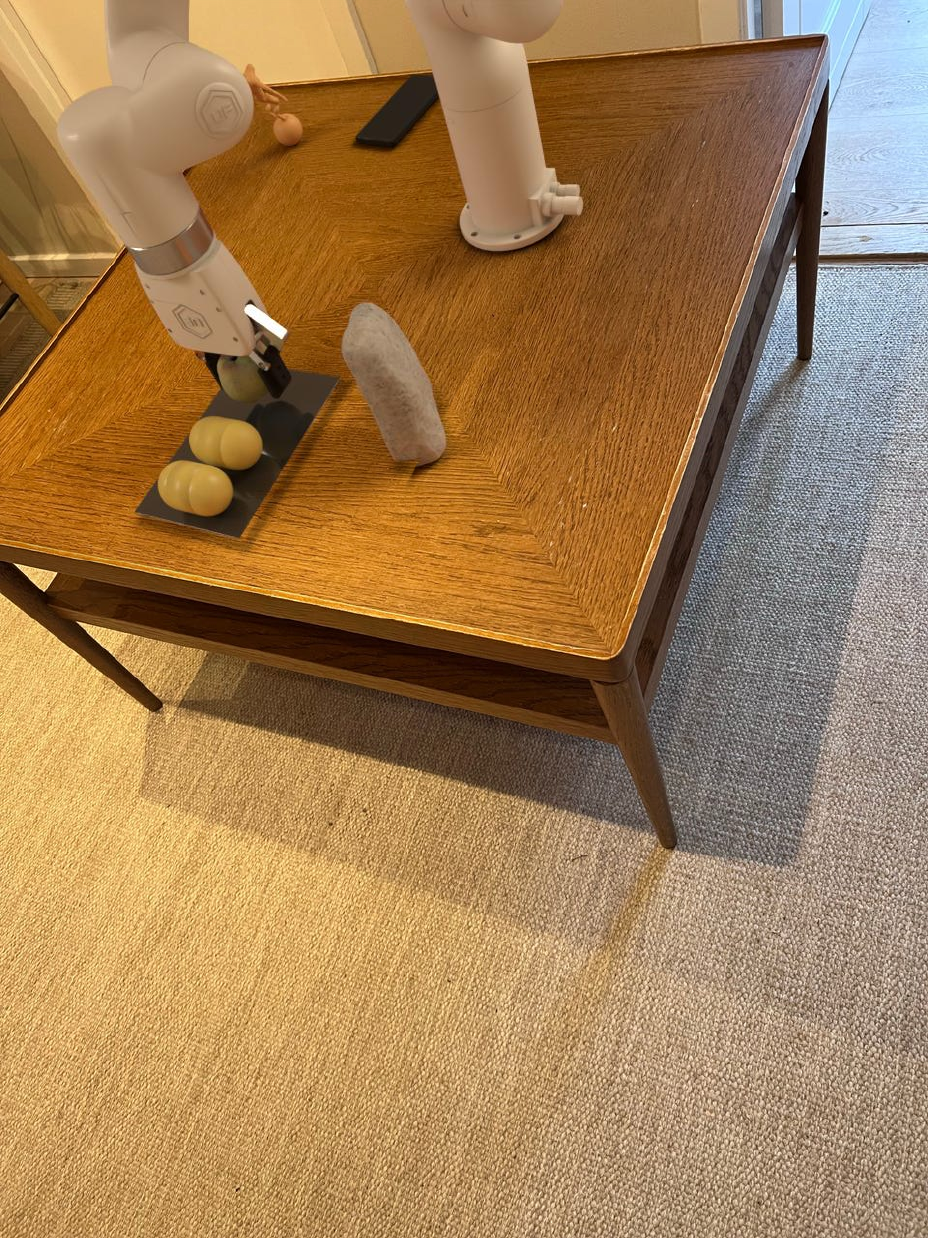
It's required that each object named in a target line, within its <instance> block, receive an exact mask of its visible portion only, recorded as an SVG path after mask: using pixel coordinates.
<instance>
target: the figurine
mask: <svg viewBox="0 0 928 1238" xmlns="http://www.w3.org/2000/svg"><path fill="white" fill-rule="evenodd" d="M242 74H243V76H244V77H245V79H246V80H247V82H248V84H249V86H250V89H251V92H252V96H253V99H255V100H256V101H258V102H259V103H264V104H266V105H265V111H266V112H267V115H268V116H269V117H271V118H273V119H274V120H275V121H274V123H273V134H274V137H275V138H276V140H277V141H278V142H279V143H280V144H282V145H284V146H288V147H290V146H295V145H296V144H298V143H299V142H300V140H301V139H302V137H303V125H302V123H301V121H300V119H299V117H297V116H295V114H293V113H288V112H286V113H281V114H280V113H279V112H280V99H279V98H281V99H282V100H283V101H285V102H286V103H287V104H289V103H290V101H289V99H288V98H286V96H285V95H283V94H281V93H280V92H278V91H276V90H274V89H272V88H271V87H269V86H268V85H267V84H265V83H264V82H261V80H260V78H259V77H258V76H257V75H256V69H255V67H254V65H253V64H251V63H247V65H246V67H245V70H244V72H243V73H242ZM264 91H267V92H264ZM268 92H269V93H268ZM271 105H275V106H274V108H273V112H271V111H272V107H271Z"/></svg>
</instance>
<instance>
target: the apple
mask: <svg viewBox="0 0 928 1238" xmlns="http://www.w3.org/2000/svg"><path fill="white" fill-rule="evenodd" d="M256 348H257V349H258V350H259V351H260V352H261V353H262V355H263V354H264V352H265V350H266V349H267V347H266V346H265V345H264V344H263V343H262V342H261V341H260V340H259V341H258V342H257V344H256ZM259 368H260V367H259V366H258V365H257V364H256V363H255V362H254V361H253V360H252V359H251V358H250V356H249V355H247V356H232V355H224V354H221V356H220V358H219V361H218V364H217V371H218V375H219V378H220V382H221V385H222V387H223V389H224V390H225V392H226V393H227V394H228V395H229V396H230V397H231V398H232V399H234V400H236V401H239V402H243V403H254V402H256V401H258V400H259V399H260V398H261V397H262V396H264V395H265V394H266V393H268V392H269V391H268V389H267V387H266V386H265V384H264V382H263V380H262V379H261V377H260V375H259V374H258V369H259Z"/></svg>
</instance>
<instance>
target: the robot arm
mask: <svg viewBox="0 0 928 1238" xmlns="http://www.w3.org/2000/svg"><path fill="white" fill-rule="evenodd" d="M403 2H404V5H405V8H406V10H407V12H408V14H409V17H410V19H411V21H412V24H413V25H414V27H415V30H416V32H417V34H418V36H419V39H420V41H421V43H422V46H423V48H424V51H425V54H426V57H427V60H428V63H429V66H430V69H431V73H432V76H434V80H435V83H436V87H437V90H438V94H439V97H438V98H439V102H440V105H441V109H442V113H443V117H444V121H445V123H446V127H447V131H448V135H449V137H450V143H451V145H452V146H451V147H452V149H453V153H454V157H455V161H456V165H457V168H458V172H459V176H460V180H461V183H462V187H463V191H464V194H465V198H466V201H467V203H465V205H464V207H463V209H462V210H461V211H460V212H461V213H460V216H459V226H460V230H461V234H462V236H463V238H464V239H465V241H467V242H468V244H470V245H471V246H473V247H475V248H478V249H481V250H483V251H488V252H489V251H490V252H508V251H513V250H517V249H522V248H524V247H527V246H531V245H533V244H534V243H536V242H538V241H540V240H542V239H544V238H545V237H546V236H548V235H549V234H550V233H551V232H553V231H554V230H555V229H557V227H558V226H559V224H560V223H561V222H562V220H563V218H564V216H581V214H582V212H583V207H584V202H583V197H582V196H580V193H581V188H580V185H579V184H571V183H568V184H562V183H561V182H560V181H558V179H557V173H556V168H555V167H547V165H546V160H545V154H544V149H543V144H542V137H541V131H540V128H539V127H540V126H539V122H538V117H537V111H536V110H537V109H536V105H535V99H534V95H533V94H534V93H533V89H532V83H531V78H530V70H529V66H528V60H527V55H526V51H525V47H524V44H529V43H531V42H534V41H536V40H540V39H541V38H542V37H543V36H544V35H545V34H547V33H548V32H549V31H550V30H551V28H553V26H554V25H555V23H556V21H557V19H558V17H559V15H560V13H561V11H562V8H563V6H564V2H565V0H403ZM103 5H104V6H103V7H104V8H103V9H104V30H105V50H106V51H105V52H106V59H107V66H108V67H107V68H108V72H109V73H108V74H109V76H110V80H111V84H112V85H106V86H102V87H99V88H96V89H95V88H94V89H93V90H90V91H88V92H86V93H84V94H82V95H81V96H79V97H78V98H76V99H74V100H73V101H72V102H71V103H70V104H68V105H67V106H66V108H64V109H63V111H62V112H61V114H60V115H59V118H58V120H57V123H56V135H57V140H58V143H59V145H60V147H61V149H62V150H63V152H64V154H65V156H66V157H67V158H68V160H69V162H70V163H71V165H72V166H73V167H74V169H75V171H76V172H77V174H78V175H79V178H80V179H81V180H82V182H83V183H84V185H85V187H86V188H87V189H88V191H89V192H90V194H91V196H92V197H93V199H94V200H95V202H96V203H97V205H98V206H99V208H100V209H101V211H102V212H103V214H104V216H105V217H106V219H107V220H108V222H109V223H110V225H111V226H112V228H113V229H114V231H115V233H116V234H117V236H118V237H119V239H120V240H121V242H122V243H123V245H124V247H125V248H126V249H127V252H128V253H129V254H130V256H131V258H132V259H133V260H134V262H133V265H134V269H135V271H136V273H137V277H138V279H139V281H140V284H141V286H142V289H143V290H144V293H145V294H146V297H147V299H148V301H149V303H150V304H151V306H152V307H153V309H154V311H155V313H156V314H157V316H158V318H159V320H160V321H161V325H162V327H163V328H165V329H166V331H167V332H168V334H169V336H170V338H171V339H172V340H173V341H174V342H175V344H176V345H178V346H179V347H182V348H184V349H186V350H191V351H193V352H194V356H195V357H196V358H197V359H198V360H199V361H201V362H205V363H204V365H205V366H206V367H207V369H208V370H209V372H210V374H211V375H212V377H213V378H214V381H216V383H217V385H218V386H219V389H222V390H224V389H223V387H222V385H221V382H220V378H219V375H218V371H217V364H218V361H219V358H220V356H221V354H224V355H232V356H247V355H249V356H250V358H251V359H252V360H253V361H254V362H255V363H256V364H257V365H258V366H259V367H260V368H259V369H258V374H259V375H260V377H261V379H262V380H263V382H264V384H265V386H266V387H267V389H268V391H269V392H270V394H271V396H272V397H273V398H276V399H279V398H280V397H281V395H282V393H283V392H284V390H285V389H286V387H287V386H288V384H289V383H290V381H291V379H292V377H291V374H290V373H289V371H288V369H289V368H287V365H286V364H285V362H284V360H283V358H282V356H281V353H282V350H283V348H284V347H285V345H286V344H287V341H288V340H289V339H290V337H291V333H290V331H289V330H288V329H287V328H285V327H284V326H282V325H280V324H279V323H278V322H277V321H275V320H274V319H272V317H270V316H269V314H268V311H267V309H266V307H265V305H264V303H263V301H262V299H261V298H260V296H259V294H258V291H256V289H255V287H254V286H253V284H252V282H251V281H250V279H249V277H248V276H247V275H246V274H245V272H244V270H243V269H242V267H241V266H240V264H239V263H238V261H237V260H236V258H235V257H234V256H233V254H232V253H231V252H230V250H229V249H228V248H227V246H226V245H225V244H224V243H223V242H222V240H220V239H218V238H217V235H216V232H215V231H214V228H213V227H212V225H211V223H210V221H209V219H208V218H207V215H206V214H205V212H204V210H203V208H202V207H201V205H200V203H199V201H198V200H197V197H196V196H195V194H194V192H193V190H192V188H191V187H190V185H189V183H188V181H187V179H186V177H185V176H184V174H183V171H186V170H188V169H190V168H192V167H195V166H197V165H199V164H201V163H204V162H206V161H209V160H211V159H213V158H215V157H218V156H220V155H222V154H224V153H225V152H227V151H229V150H231V149H232V148H233V147H234V146H236V145H237V144H238V143H239V142H240V141H241V140H242V139H243V138H244V137H245V135H246V134H247V132H248V131H249V128H250V127H251V124H252V122H253V118H254V117H253V116H254V113H255V112H254V111H255V110H254V109H255V105H254V103H255V102H254V95H252V92H251V89H250V86H249V84H248V82H247V80H246V79H245V77H244V76H243V74H244V73H242V72H241V70H240V69H239V68H237V66H236V65H234V64H233V63H232V62H230V61H229V60H227V58H224V57H223V56H221V55H220V54H217V53H215V52H213V51H211V50H208V49H206V48H203V47H201V46H199V45H197V44H195V43H193V42H191V41H190V0H103ZM258 341H260V342H262V343H263V344H264V345H265V346H266V347H267V349H266V350H265V352H264V354H263V355H262V353H261V352H260V351H259V350H258V349H257V348H256V344H257V342H258Z"/></svg>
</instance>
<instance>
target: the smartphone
mask: <svg viewBox="0 0 928 1238" xmlns="http://www.w3.org/2000/svg"><path fill="white" fill-rule="evenodd" d="M438 98H439V94H438V90H437V87H436V83H435V80H434V76H433V75H427V74H426V75H424V74H412V75H411V76H409V77H408V78H407V79H406V81H404V83H403V84H402V85H401V86H400V87H399V88H398V89H397V90H396V91H395V93H394V94H392V96H391V97H390V98H389V99H388V100H387V101H386V102H385V103H384V104H383V105H382V106H381V107H380V108H379V110H378V111H377V112H376V113H375V114H374V115H373V117H371V119H370V120H369V121H368V122H367V123H366V124H365V125H364V126H363V127H362V128H361V130H360V131H359V132H358V133H357V134H356V135H355V141H356V143H358V144H364V145H374V146H382V147H390V148H391V147H395V146H397V144H398V143H399V142H400V141H401V140H402V139H403V138H404V136H405V135H406V134H407V133H408V132H409V131H410V130H411V129H412V127H413V126H414V125H416V123H417V122H418V120H420V119H421V117H422V116H423V115H424V114H425V113H426V111H428V109H429V108H430V107H431V106H432V105H433V104H434V102H435V101H437V99H438Z"/></svg>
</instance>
